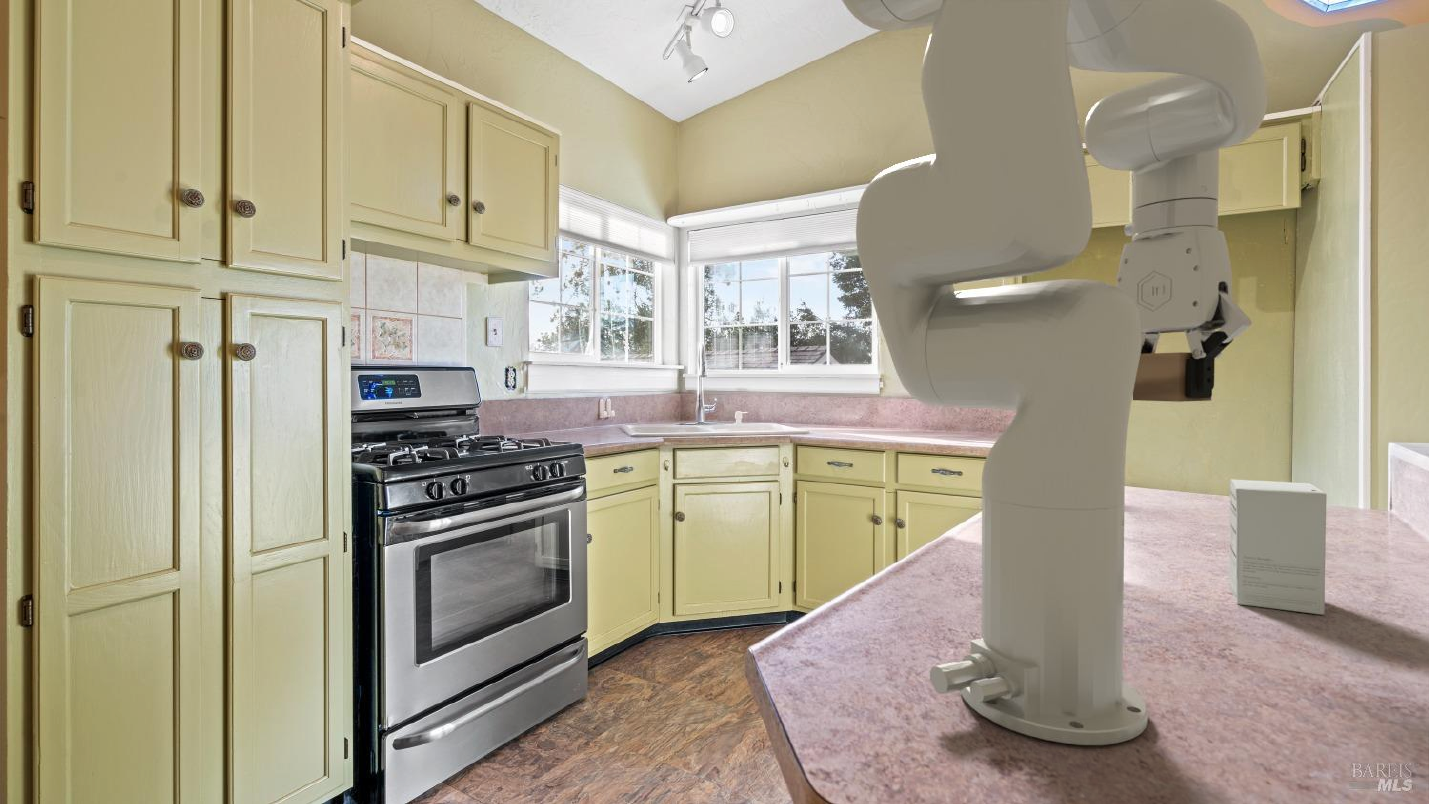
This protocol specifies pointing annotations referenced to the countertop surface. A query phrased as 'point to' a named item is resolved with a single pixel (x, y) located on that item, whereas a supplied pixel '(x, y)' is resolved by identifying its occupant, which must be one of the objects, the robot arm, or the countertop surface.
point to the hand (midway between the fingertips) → (1171, 395)
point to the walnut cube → (1162, 378)
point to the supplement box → (1278, 545)
